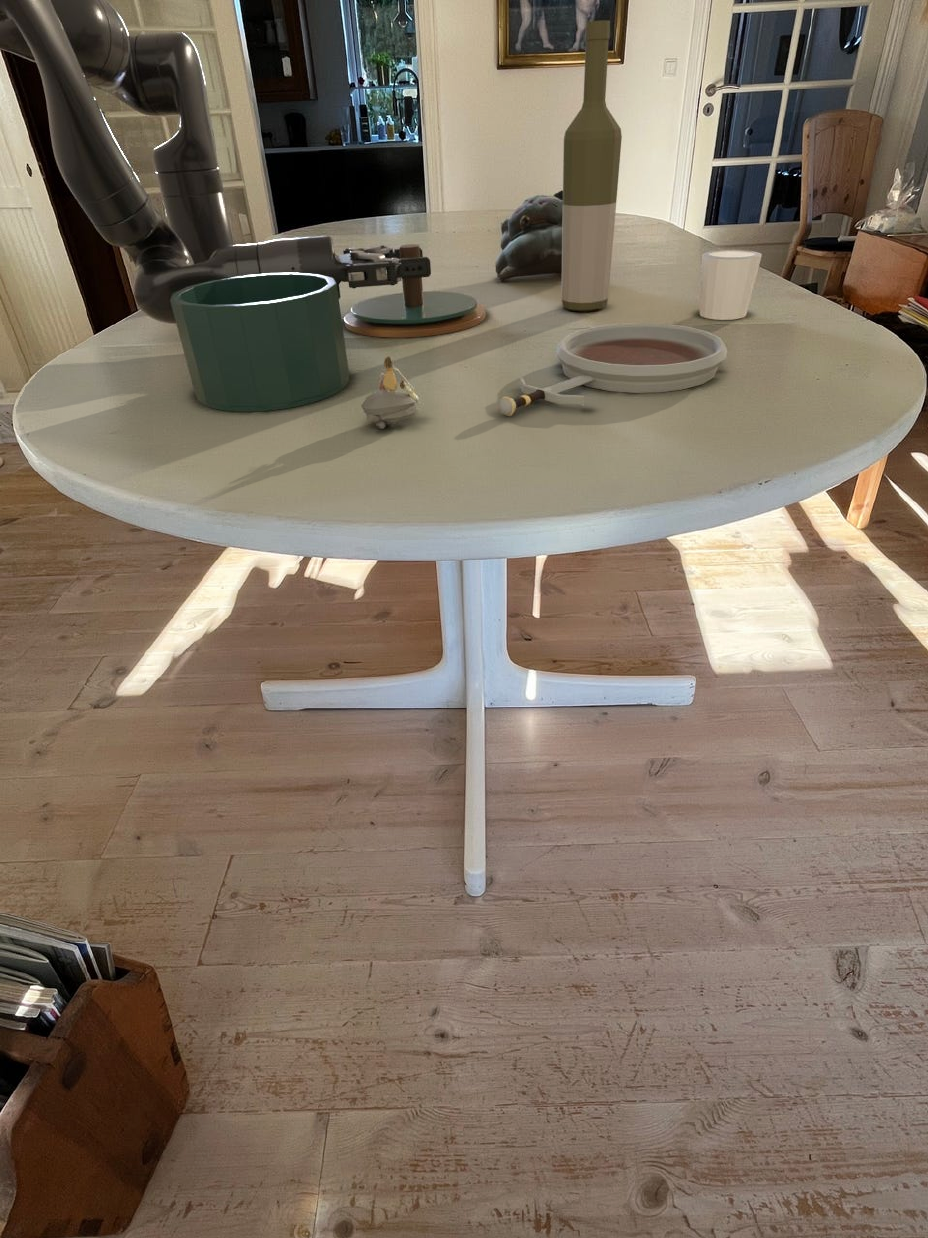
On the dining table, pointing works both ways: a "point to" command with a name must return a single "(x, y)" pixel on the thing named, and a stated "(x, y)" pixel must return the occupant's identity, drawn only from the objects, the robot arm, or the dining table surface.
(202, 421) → the dining table surface
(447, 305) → the lid
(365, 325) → the trivet
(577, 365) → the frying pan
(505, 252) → the grey lumpy animal shape
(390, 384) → the figurine
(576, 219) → the bottle
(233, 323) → the pot
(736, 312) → the white cup
